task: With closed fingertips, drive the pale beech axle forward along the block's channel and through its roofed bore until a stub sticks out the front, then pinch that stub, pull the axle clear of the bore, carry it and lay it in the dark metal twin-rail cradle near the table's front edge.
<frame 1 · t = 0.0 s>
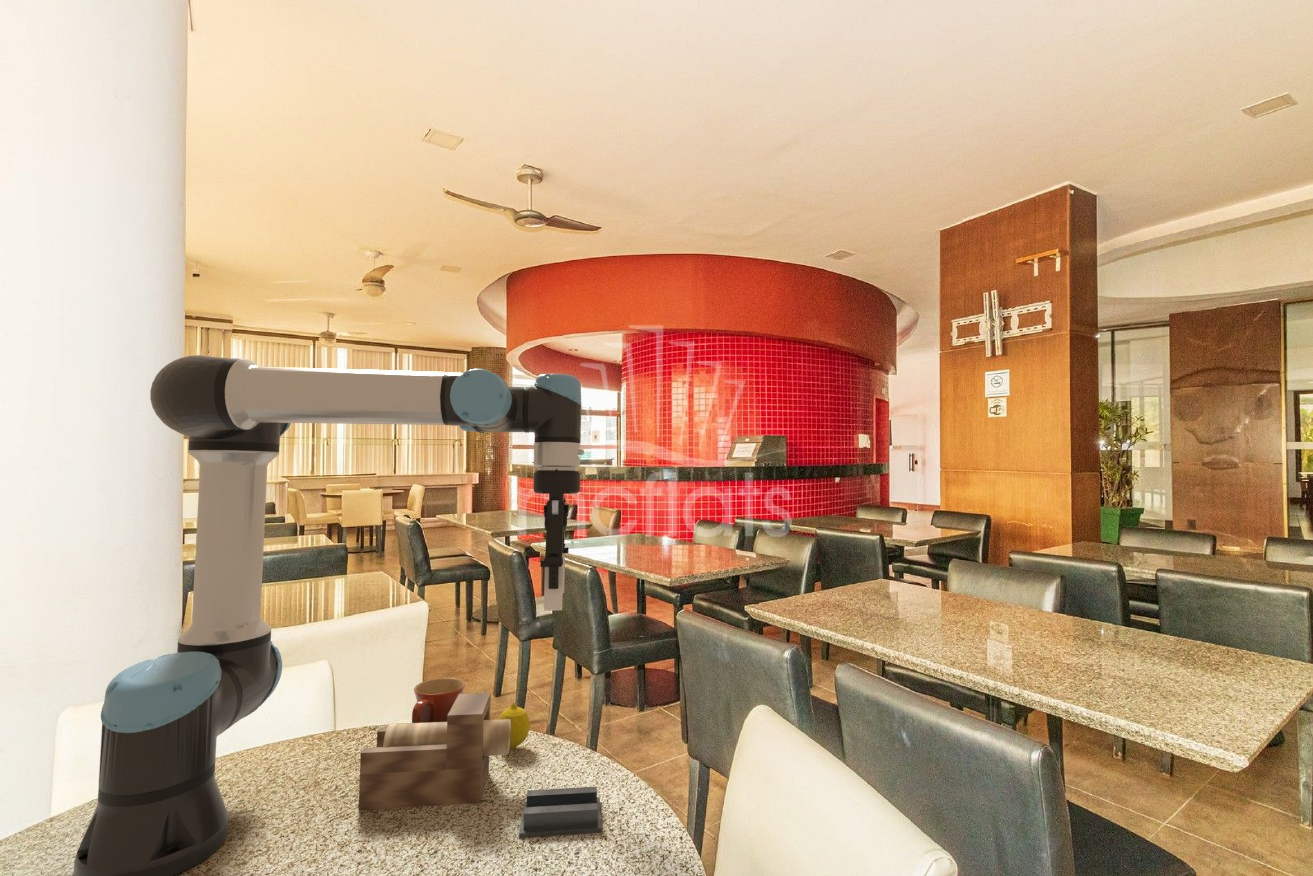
hand: (554, 601, 99), 28 cm above the table, fingers open, 13 cm apart
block: (427, 790, 94), on the table
axle: (448, 756, 94), point 5 cm above the table, touching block
mug: (433, 749, 108), on the table
cradle: (561, 818, 86), on the table
fruit: (513, 750, 108), on the table
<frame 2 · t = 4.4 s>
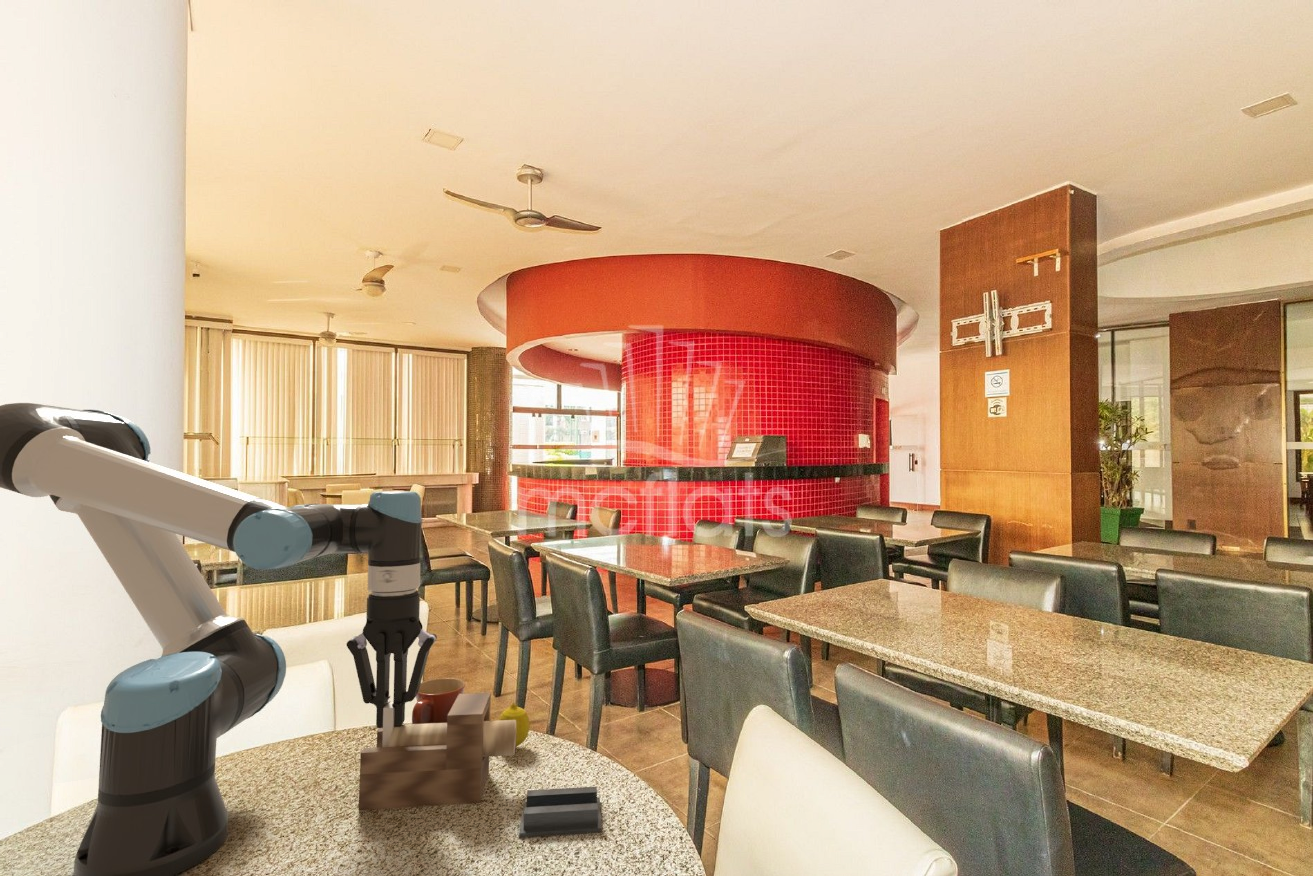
hand: (389, 748, 93), 7 cm above the table, fingers closed
axle: (455, 755, 94), point 5 cm above the table, tilted 8°, touching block, gripper
everything else where it was.
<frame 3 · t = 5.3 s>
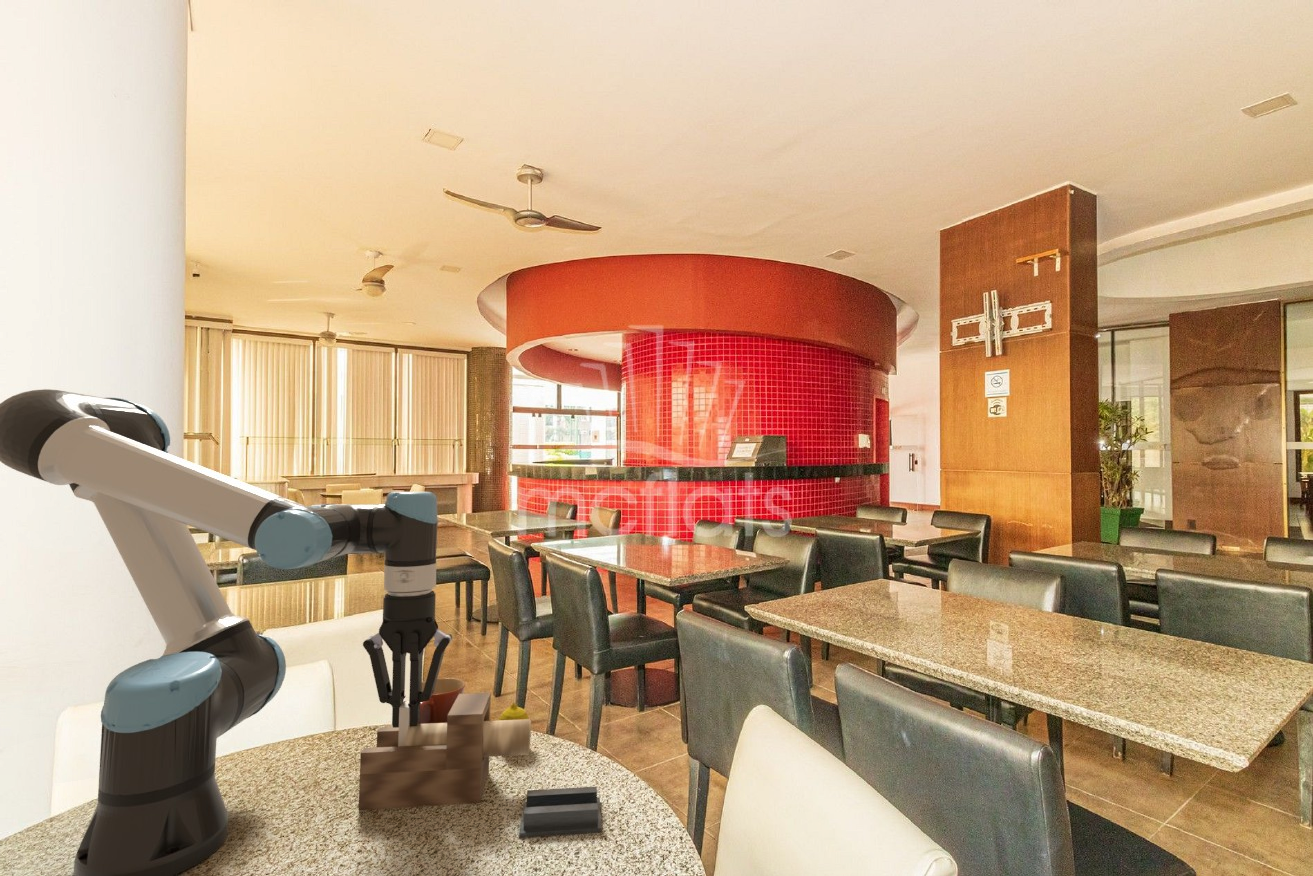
hand: (405, 747, 93), 7 cm above the table, fingers closed
axle: (470, 754, 95), point 5 cm above the table, tilted 12°, touching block, gripper
everything else where it was.
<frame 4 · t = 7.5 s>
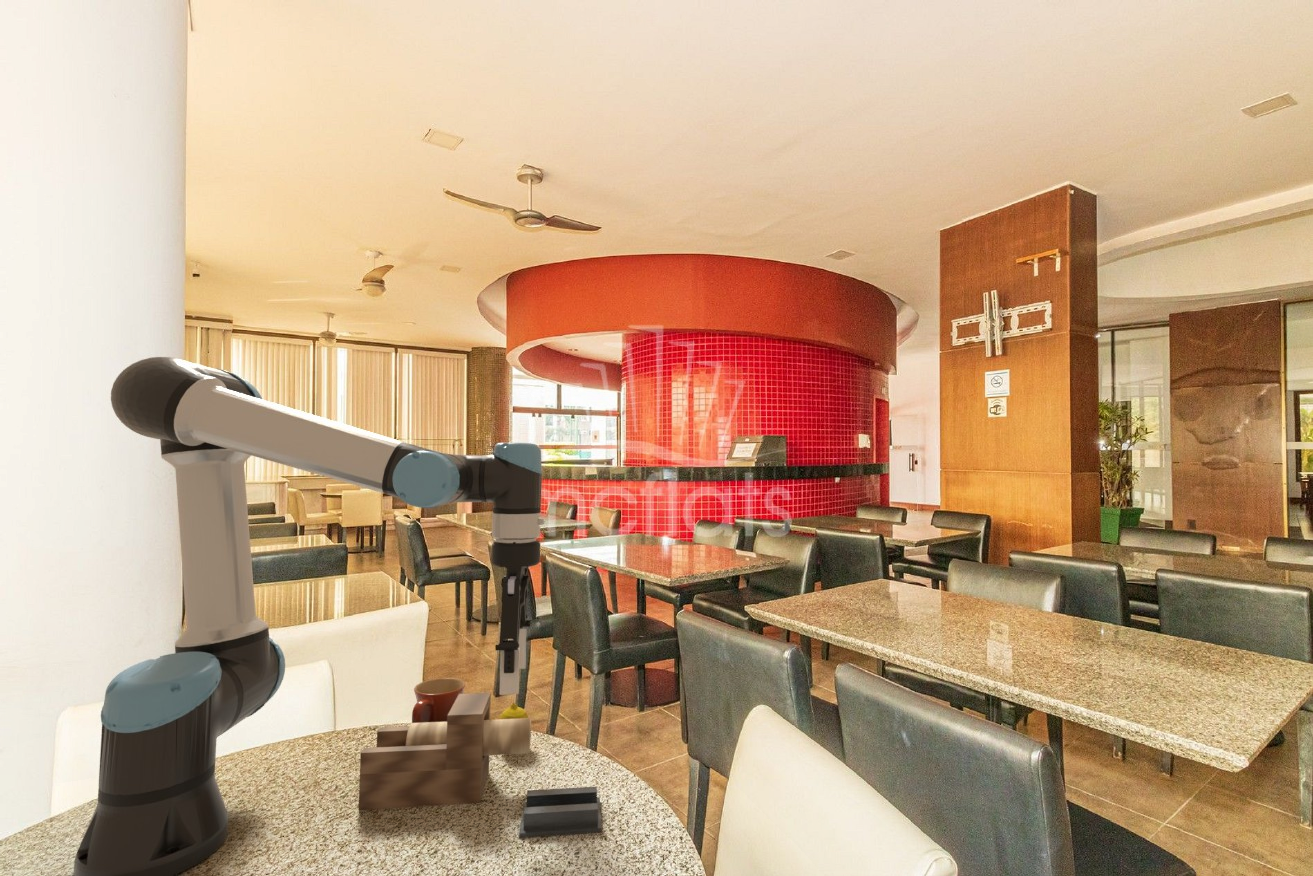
hand: (513, 680, 96), 16 cm above the table, fingers open, 11 cm apart
axle: (470, 754, 95), point 5 cm above the table, touching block
everything else where it was.
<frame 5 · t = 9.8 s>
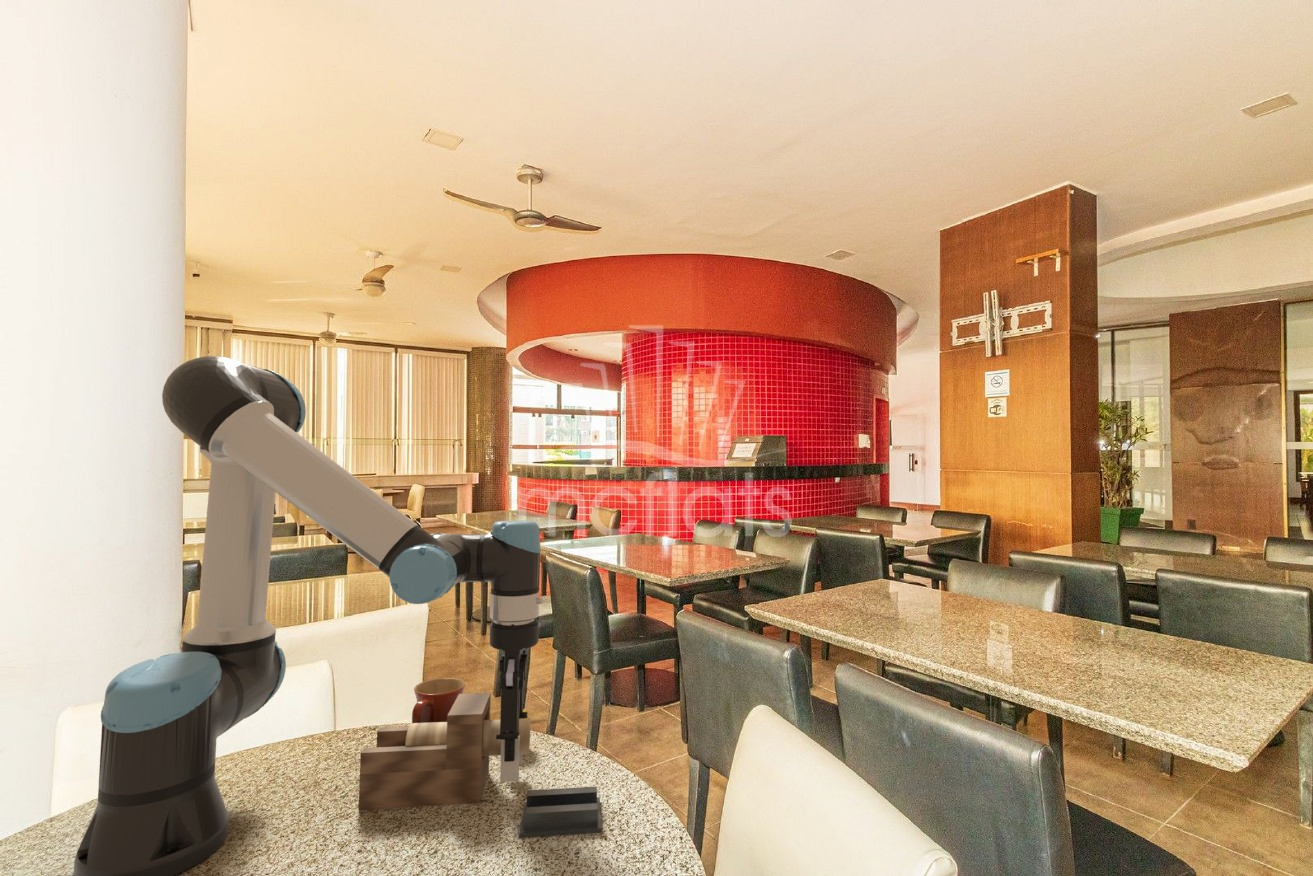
hand: (511, 771, 95), 2 cm above the table, fingers closed on axle, 5 cm apart
axle: (470, 754, 95), point 5 cm above the table, tilted 8°, touching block, gripper
everything else where it was.
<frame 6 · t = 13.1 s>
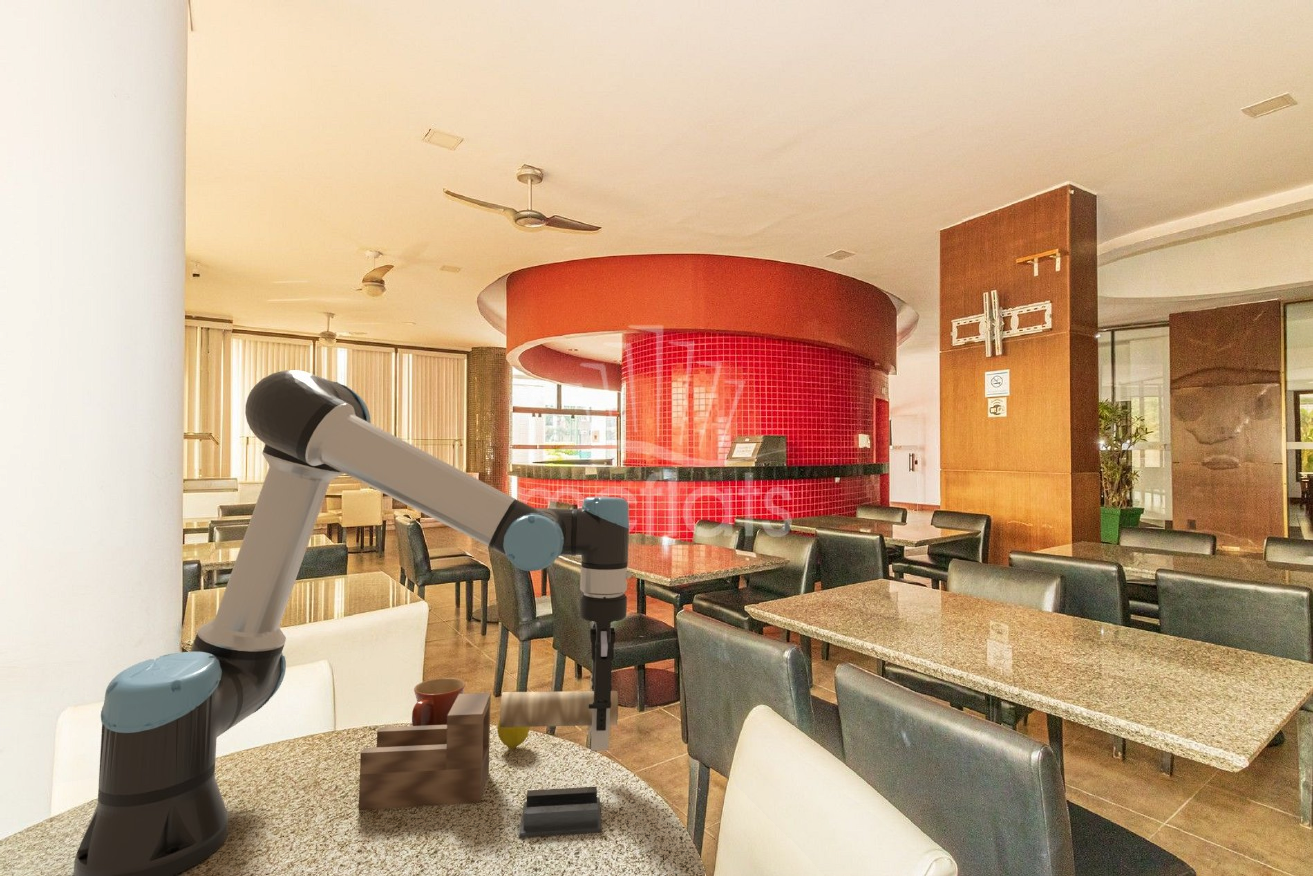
hand: (599, 741, 97), 6 cm above the table, fingers closed on axle, 5 cm apart
axle: (559, 723, 97), point 9 cm above the table, tilted 8°, touching gripper
everything else where it was.
when the fingers open (3 cm above the table, at t = 16.9 s): axle drops 3 cm, resting on cradle.
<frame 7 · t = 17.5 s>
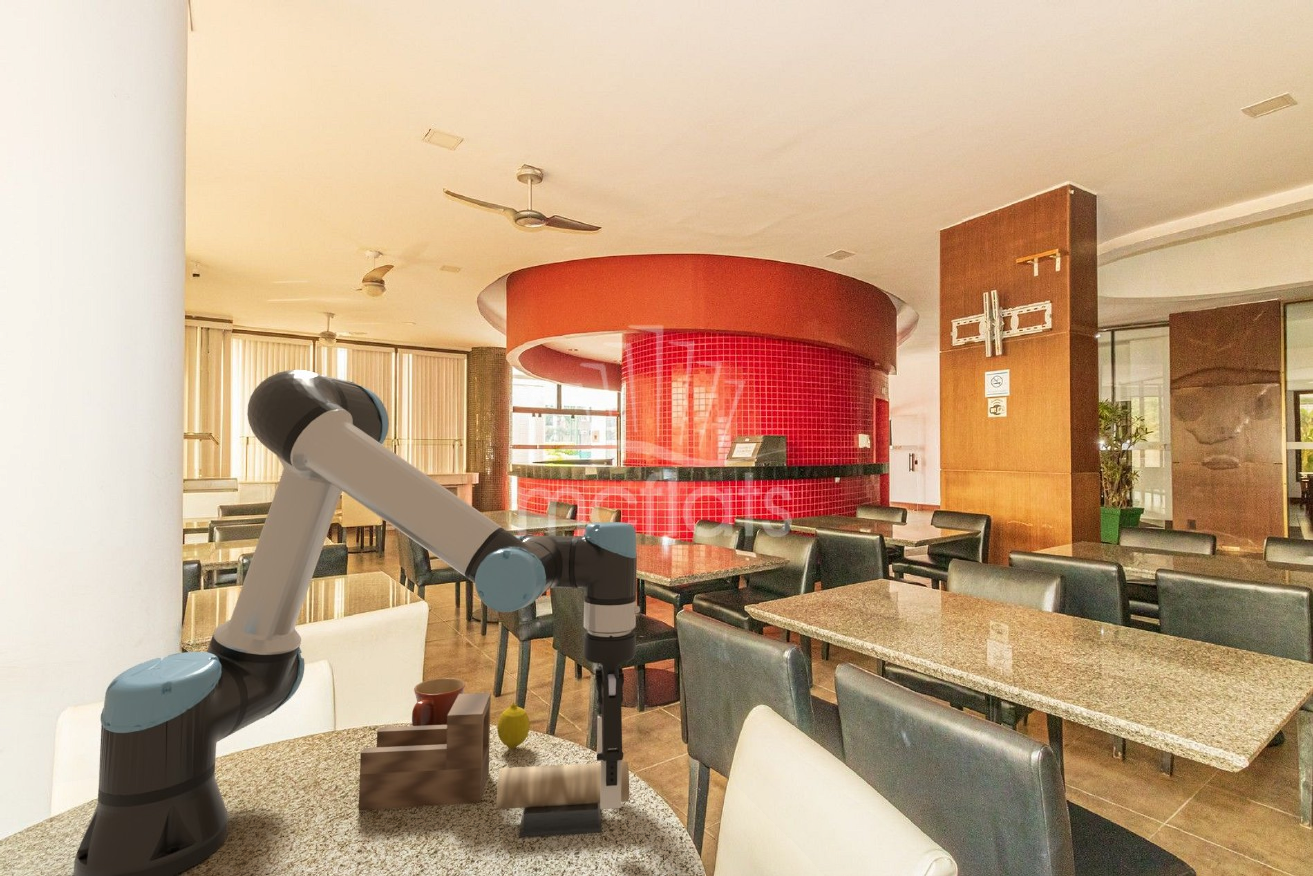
hand: (608, 782, 87), 5 cm above the table, fingers open, 13 cm apart
axle: (564, 800, 87), point 2 cm above the table, tilted 13°, touching cradle
everything else where it was.
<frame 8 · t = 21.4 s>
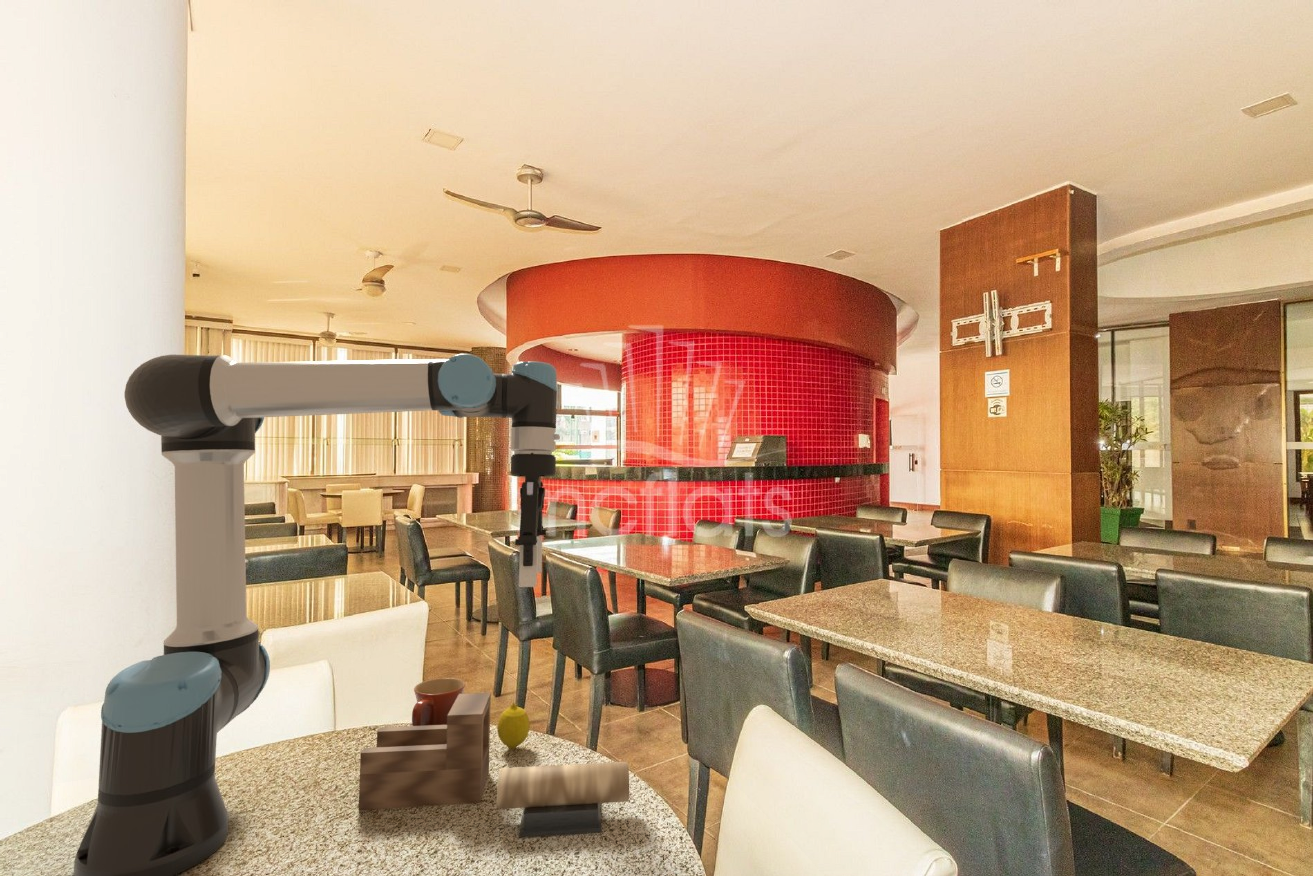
hand: (531, 579, 103), 31 cm above the table, fingers open, 13 cm apart
nothing on the table moved.
at the end: axle inside the target area on the cradle (0.7 cm from its centre), point 2.2 cm above the cradle's base; the gripper is holding nothing; axle touching cradle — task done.
